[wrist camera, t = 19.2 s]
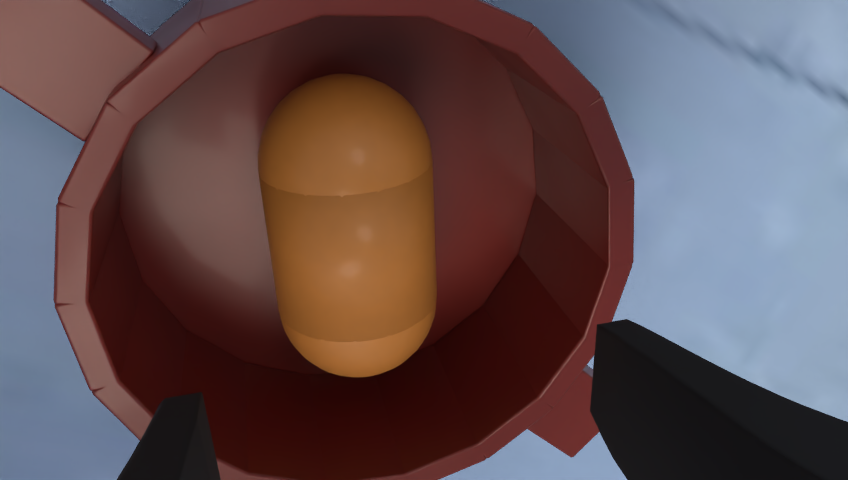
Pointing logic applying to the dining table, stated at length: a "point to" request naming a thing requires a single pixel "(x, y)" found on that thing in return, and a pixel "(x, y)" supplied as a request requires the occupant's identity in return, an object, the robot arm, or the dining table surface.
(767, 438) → the robot arm
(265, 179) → the bread roll
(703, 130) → the dining table surface
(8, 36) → the pot
